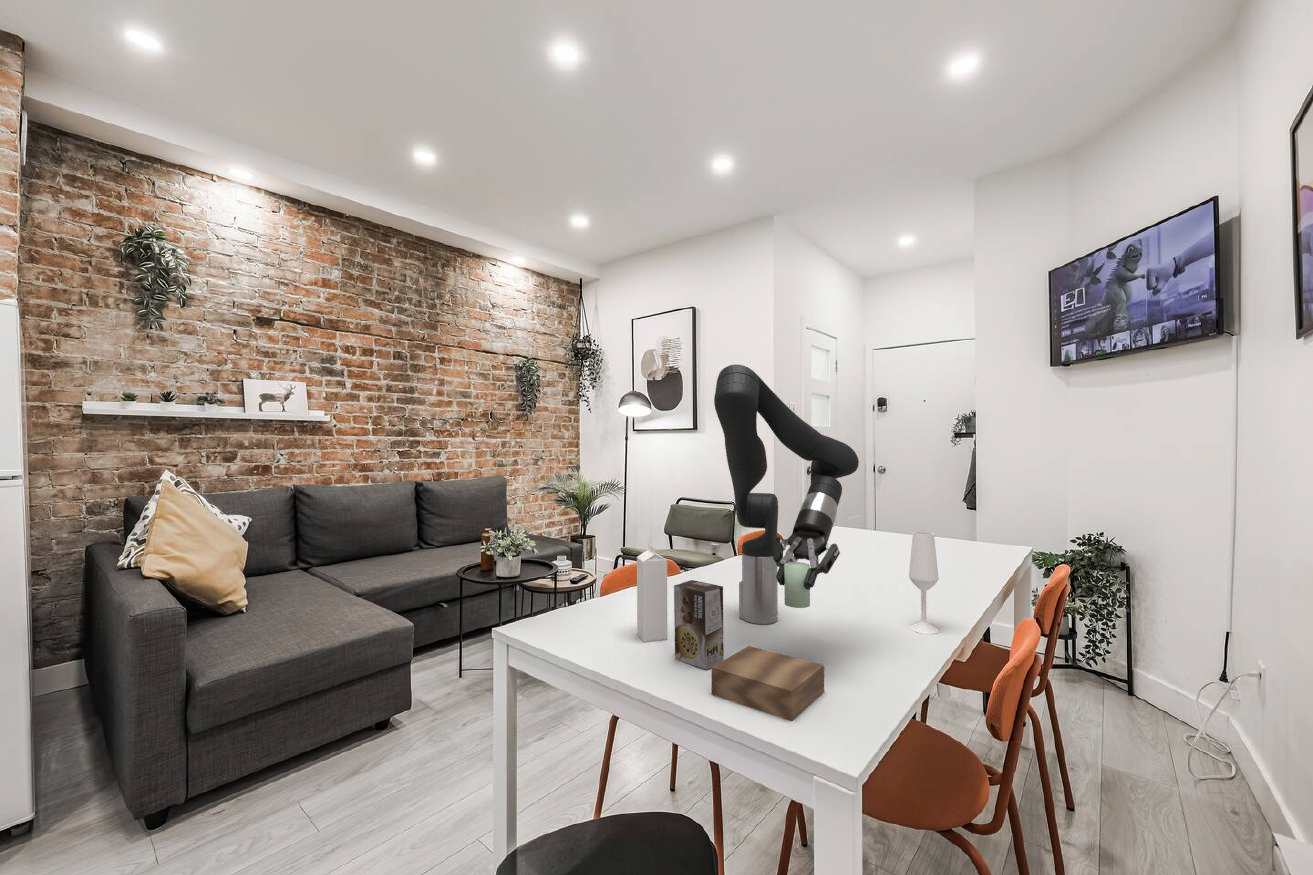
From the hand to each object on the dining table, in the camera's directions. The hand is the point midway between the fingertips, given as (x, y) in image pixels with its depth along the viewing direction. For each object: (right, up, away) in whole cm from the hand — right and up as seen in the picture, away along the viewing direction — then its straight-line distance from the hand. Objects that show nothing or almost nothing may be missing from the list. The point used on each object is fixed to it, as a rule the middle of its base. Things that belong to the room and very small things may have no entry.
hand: (793, 584), depth 112 cm
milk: (-28, -19, +23) cm, 41 cm away
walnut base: (-7, -18, -8) cm, 21 cm away
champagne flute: (+39, -18, +27) cm, 51 cm away
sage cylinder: (+1, -4, +1) cm, 5 cm away
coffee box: (-18, -19, +8) cm, 27 cm away
